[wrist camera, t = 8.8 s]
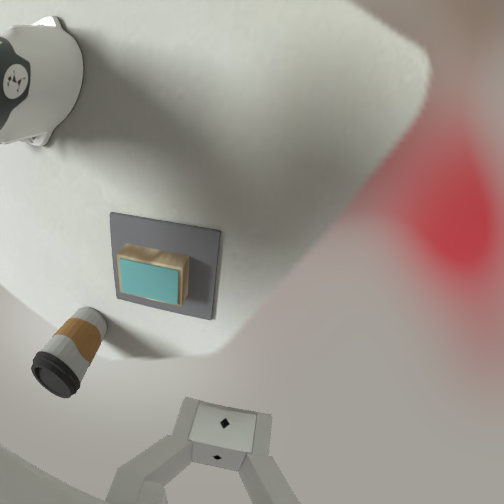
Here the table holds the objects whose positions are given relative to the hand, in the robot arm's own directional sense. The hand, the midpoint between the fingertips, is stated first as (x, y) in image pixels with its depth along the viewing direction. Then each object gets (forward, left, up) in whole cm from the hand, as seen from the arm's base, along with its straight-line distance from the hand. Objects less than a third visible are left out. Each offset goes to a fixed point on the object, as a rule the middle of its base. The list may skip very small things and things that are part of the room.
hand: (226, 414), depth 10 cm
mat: (-13, -14, -29) cm, 34 cm away
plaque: (-9, -14, -27) cm, 31 cm away
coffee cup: (-26, -28, -29) cm, 48 cm away
